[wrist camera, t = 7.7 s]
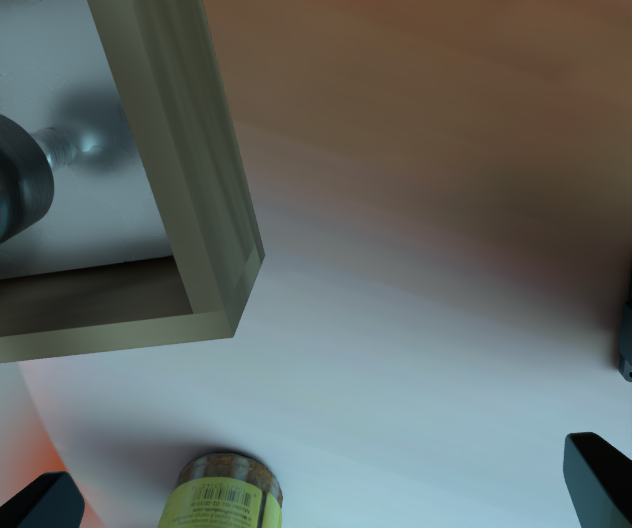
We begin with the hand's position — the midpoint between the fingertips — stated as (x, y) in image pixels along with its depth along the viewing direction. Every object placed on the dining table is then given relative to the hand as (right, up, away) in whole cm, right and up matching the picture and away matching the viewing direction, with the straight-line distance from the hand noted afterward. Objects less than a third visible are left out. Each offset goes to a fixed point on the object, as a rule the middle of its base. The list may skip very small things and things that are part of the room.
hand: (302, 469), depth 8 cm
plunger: (-9, +8, +9) cm, 15 cm away
